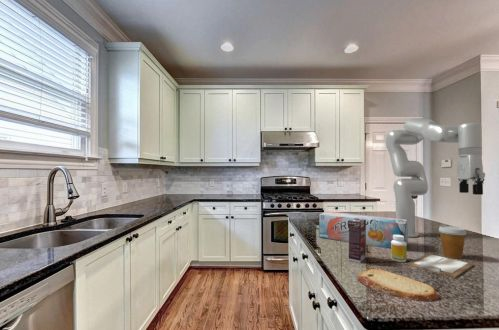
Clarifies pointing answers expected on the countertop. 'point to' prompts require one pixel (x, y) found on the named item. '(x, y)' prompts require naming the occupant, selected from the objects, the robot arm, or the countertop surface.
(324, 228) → the soda box
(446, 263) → the clipboard
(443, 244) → the disposable coffee cup
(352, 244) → the supplement box
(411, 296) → the bread slice
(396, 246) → the supplement bottle
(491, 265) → the countertop surface
